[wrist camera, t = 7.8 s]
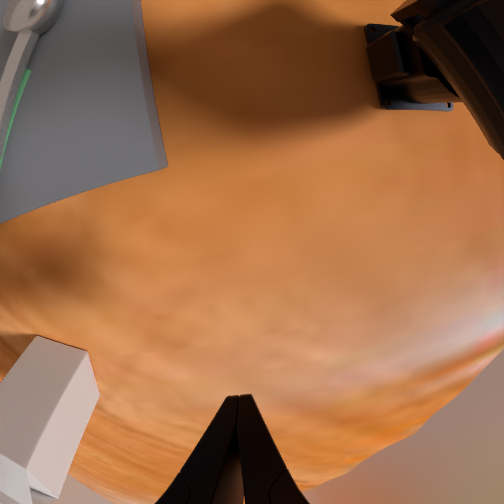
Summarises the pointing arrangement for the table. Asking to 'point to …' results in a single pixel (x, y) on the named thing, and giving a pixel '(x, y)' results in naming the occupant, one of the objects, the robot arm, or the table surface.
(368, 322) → the table surface
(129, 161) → the board
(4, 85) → the lever
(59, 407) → the milk carton
